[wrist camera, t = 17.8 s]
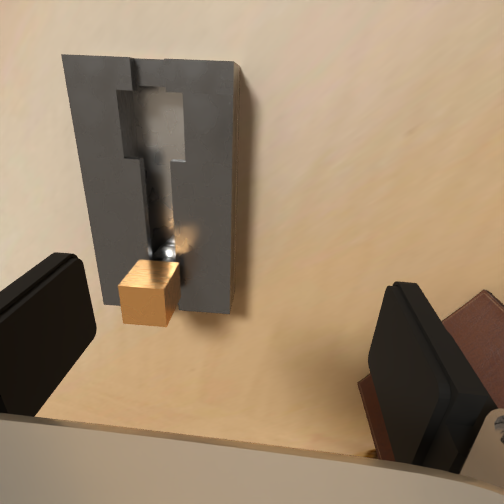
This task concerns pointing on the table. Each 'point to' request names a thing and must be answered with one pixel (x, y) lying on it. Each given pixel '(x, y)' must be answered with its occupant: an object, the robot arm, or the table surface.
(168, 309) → the peg
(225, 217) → the keyhole track
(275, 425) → the table surface
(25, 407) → the robot arm
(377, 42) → the table surface
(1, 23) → the table surface
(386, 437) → the letter holder
